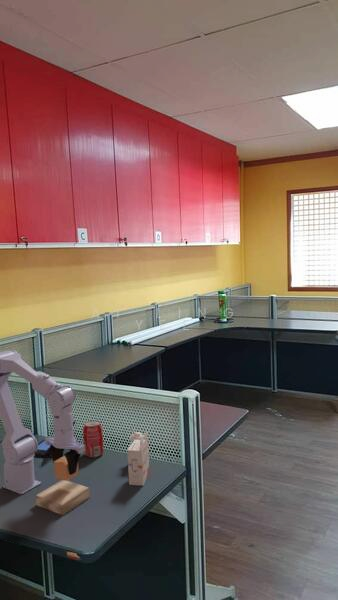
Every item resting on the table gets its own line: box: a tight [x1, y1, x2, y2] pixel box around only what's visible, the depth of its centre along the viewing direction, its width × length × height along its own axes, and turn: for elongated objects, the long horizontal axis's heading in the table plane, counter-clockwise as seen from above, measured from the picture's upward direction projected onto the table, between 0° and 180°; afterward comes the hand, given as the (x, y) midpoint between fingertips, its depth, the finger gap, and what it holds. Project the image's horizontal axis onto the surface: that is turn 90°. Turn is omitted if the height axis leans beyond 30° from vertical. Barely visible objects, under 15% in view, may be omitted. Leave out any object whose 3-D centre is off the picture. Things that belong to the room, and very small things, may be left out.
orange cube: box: [53, 455, 80, 481], centre depth 139 cm, size 5×5×5 cm
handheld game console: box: [34, 420, 76, 459], centre depth 176 cm, size 16×13×9 cm
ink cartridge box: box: [126, 431, 150, 487], centre depth 149 cm, size 9×5×15 cm, turn 168°
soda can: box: [82, 419, 104, 458], centre depth 169 cm, size 7×7×12 cm
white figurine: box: [129, 428, 144, 443], centre depth 161 cm, size 9×4×12 cm, turn 36°
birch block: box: [35, 479, 90, 516], centre depth 137 cm, size 11×11×4 cm
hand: (66, 471), depth 139 cm, fingers closed on orange cube, 5 cm apart
